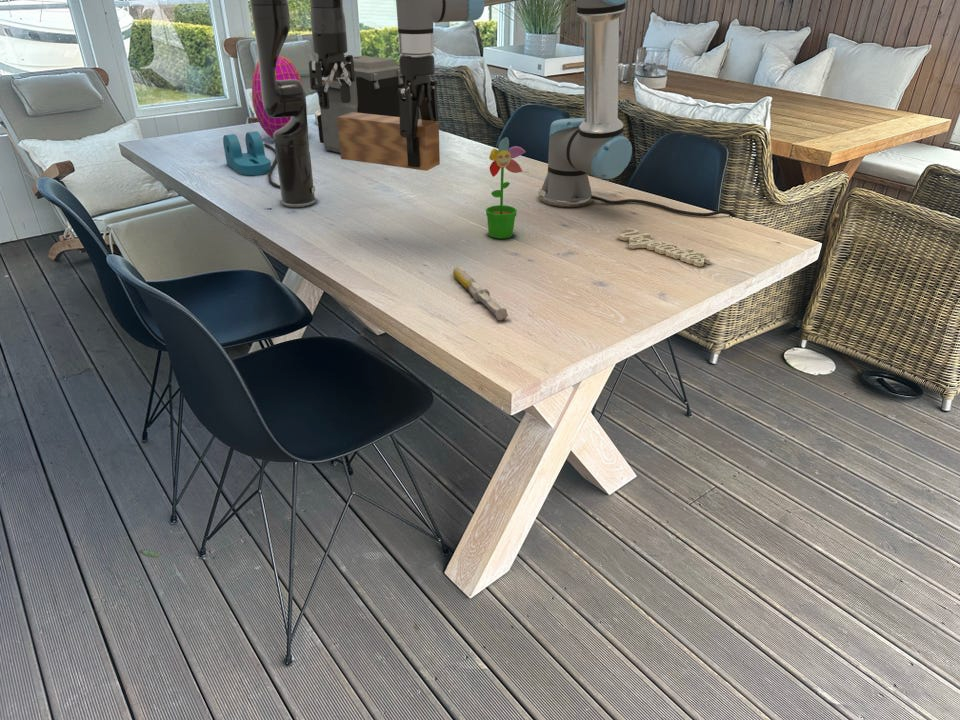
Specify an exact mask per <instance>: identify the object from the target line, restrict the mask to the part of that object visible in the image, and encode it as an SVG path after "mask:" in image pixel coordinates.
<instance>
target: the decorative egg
mask: <svg viewBox="0 0 960 720" xmlns="http://www.w3.org/2000/svg"><path fill="white" fill-rule="evenodd" d="M253 70H254V71H253V73H252V77H251V101H252V107H253V110H254V114H255V116H256V118H257V121H258V123H259V125H260V127H261V128H262V130H263V131H264V133H266V135H267V136H268V137H270V138H271V139H273V140H274V137H273V135H274V132H275V131H276V130H278V129H280V128H282V127H283V126H285V125H286V124H287V123H288V122H289V121H290V119H291V117H281V118H270V117H269V116H268V115H267V114H266V112H265V110H264V106H263V102H262V95H261V83H260V70H259V60H257V62H256V65H255V68H254V69H253ZM275 79H276V81H277V80H291V79H296V80H299V81H300V82H301V84H302V85H303V88H304V84H303V81H302V77H301V75H300V73H299V71H298V69H297V67H296V66H295V65H294V63H293V62H292V61H291V60H290V59H288V58H287V57H285V56H282V55H280V54H279V56H278V59H277V63H276V72H275ZM304 89H305V88H304Z"/></svg>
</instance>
